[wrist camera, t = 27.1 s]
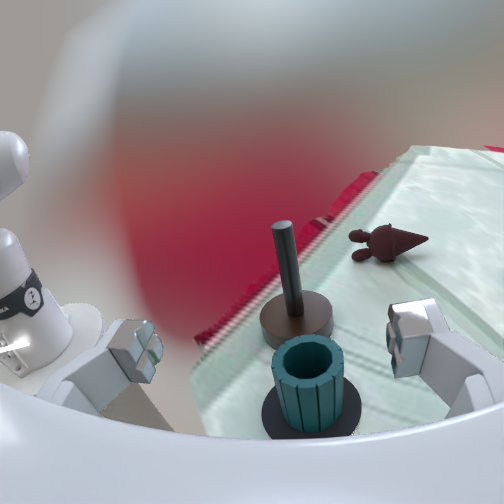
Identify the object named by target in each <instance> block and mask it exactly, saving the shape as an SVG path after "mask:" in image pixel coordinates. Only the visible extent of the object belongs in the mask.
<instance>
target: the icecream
mask: <svg viewBox="0 0 504 504" xmlns="http://www.w3.org/2000/svg"><path fill="white" fill-rule="evenodd" d="M349 239H350V240H351V241H353V242H358V243H363V242H367V246H368V247H369V248H364V249H359V250H357V251H355V252H354V253H353V254H352V259H353V260H354V261H363V260H366V259H368V258H370V257H371V256H374V257H376V258H377V259H379V260H382V261H390V260H393V261H395V259H396V257H395V256H398V255H400V254H402V253H404V252H406V251H408V250H410V249H412V248H414V247H415V246H417V245H419V244H422V243H424V242H426V241H427V240H428V237H427V236H423V235H419V234H415V233H411V232H407V231H403V230H399V229H395V228H391V224H390V223H389V224H388V225H383V226H379V227H377V228H376V229H374V230H373V232H372V233H371V234H370V233H367V232H363V231H362V230H361V229H359V230H354V231H351V233H350V234H349Z"/></svg>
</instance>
